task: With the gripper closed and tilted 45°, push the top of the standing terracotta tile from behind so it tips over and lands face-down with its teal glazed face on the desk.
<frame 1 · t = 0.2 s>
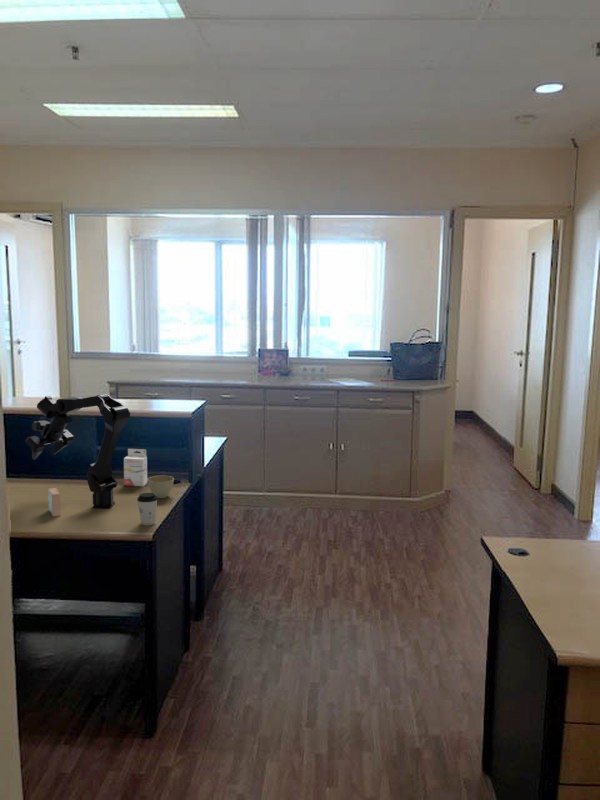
hand: (43, 456, 237), 15 cm above the table, tool tilted 35°, fingers open, 9 cm apart
beige bowl: (161, 496, 238), on the table
tile: (54, 512, 217), on the table
ink cartridge box: (135, 484, 254), on the table
coffee cup: (148, 523, 208), on the table
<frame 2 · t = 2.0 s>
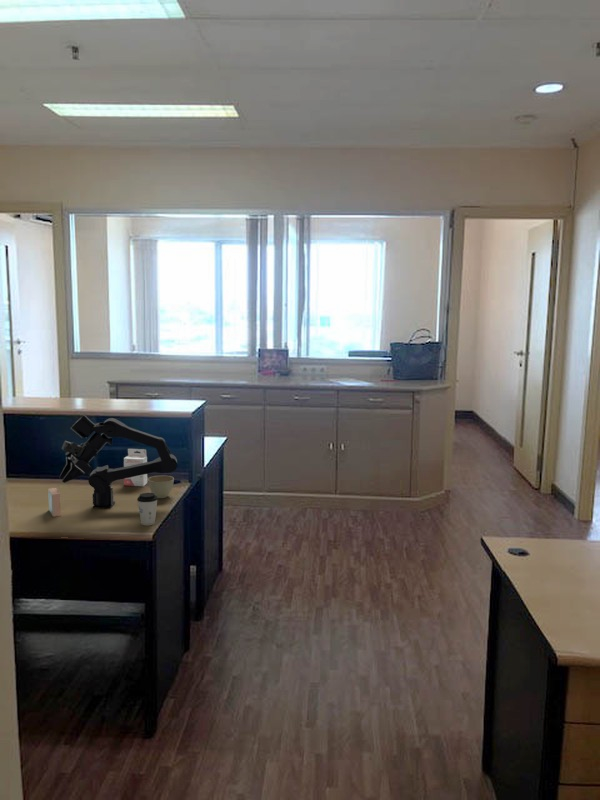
hand: (61, 480, 217), 12 cm above the table, tool tilted 45°, fingers open, 5 cm apart
nothing on the table moved.
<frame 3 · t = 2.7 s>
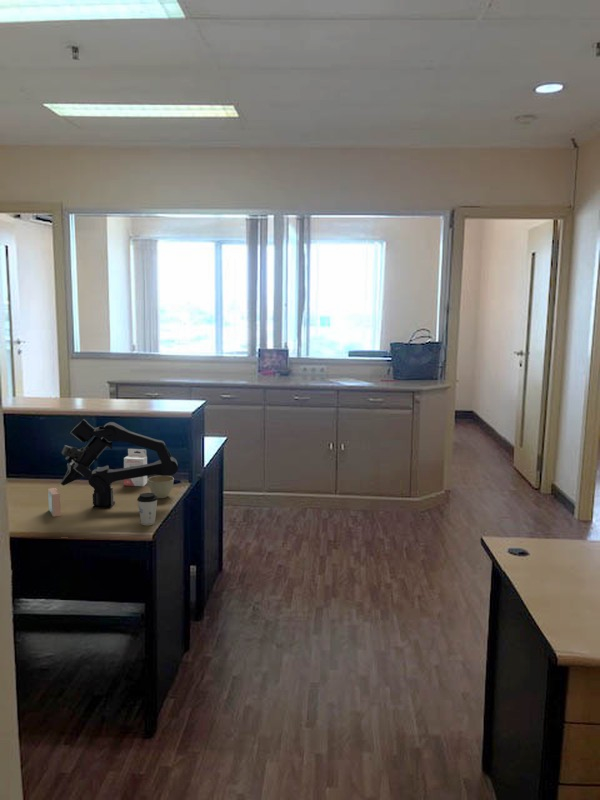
hand: (62, 484, 217), 10 cm above the table, tool tilted 45°, fingers closed
nothing on the table moved.
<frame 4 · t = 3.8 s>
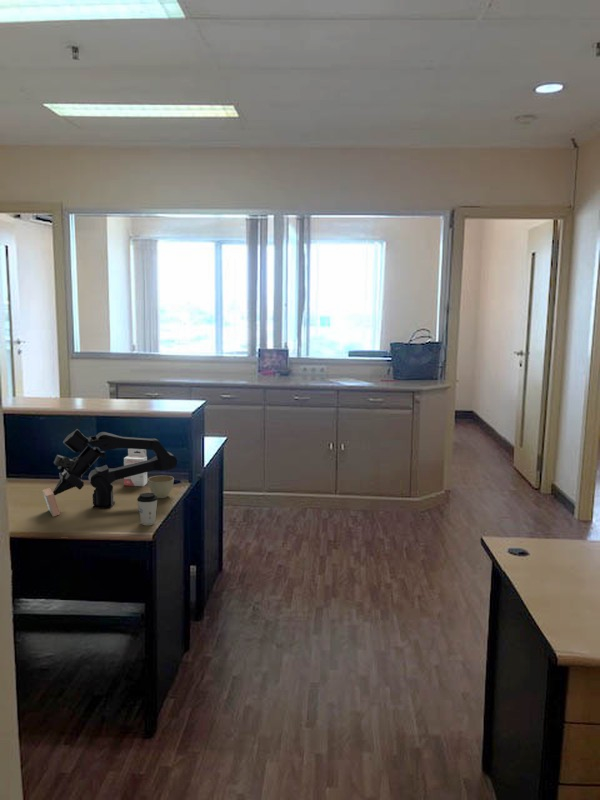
hand: (53, 494, 216), 7 cm above the table, tool tilted 45°, fingers closed
tile: (54, 512, 217), on the table, tilted 14°
everything else where it was.
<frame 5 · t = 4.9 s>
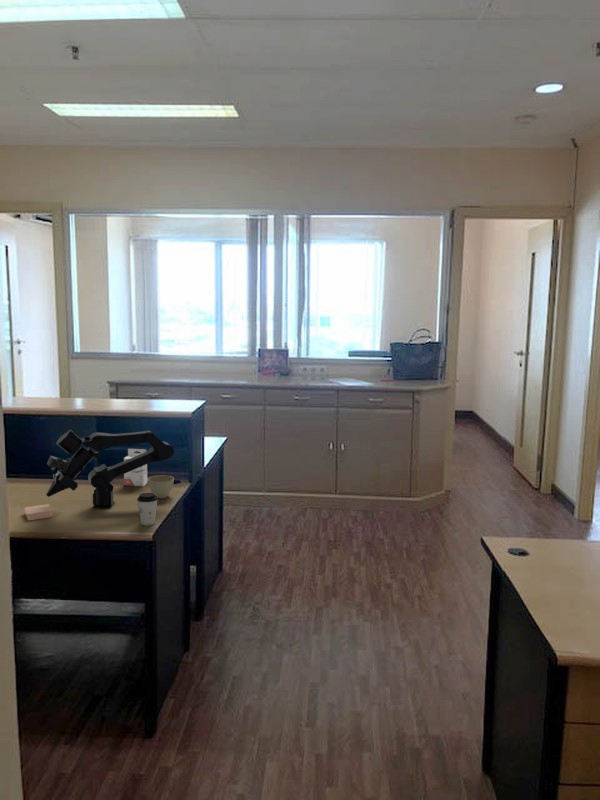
hand: (47, 495, 215), 7 cm above the table, tool tilted 45°, fingers closed
tile: (50, 510, 216), point 1 cm above the table, tilted 90°
everything else where it was.
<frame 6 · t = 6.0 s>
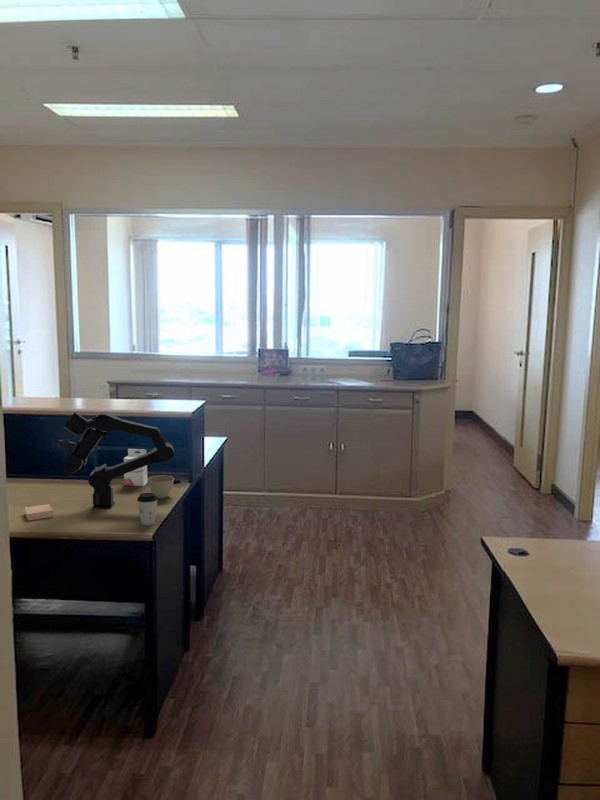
hand: (62, 479, 218), 12 cm above the table, tool tilted 35°, fingers closed
nothing on the table moved.
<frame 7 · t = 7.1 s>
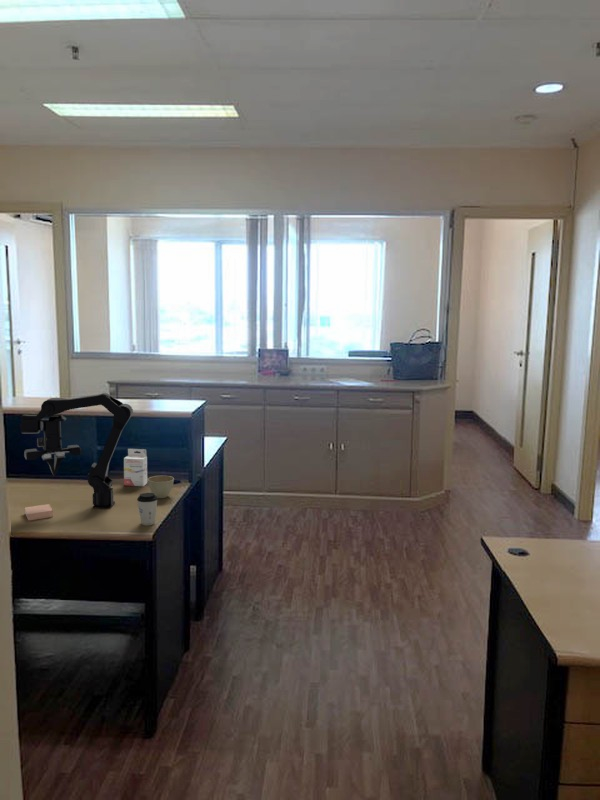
hand: (54, 475, 222), 12 cm above the table, tool pointing down, fingers closed
nothing on the table moved.
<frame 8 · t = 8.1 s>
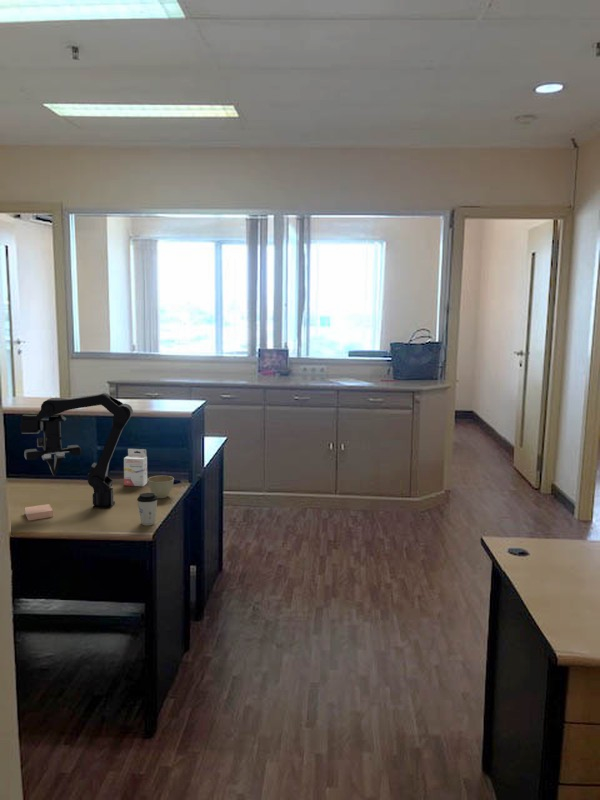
hand: (54, 475, 222), 12 cm above the table, tool pointing down, fingers closed
nothing on the table moved.
at the end: tile tilted 90°; tile inside the target area (0.7 cm from its centre), point 1.0 cm above the table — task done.
